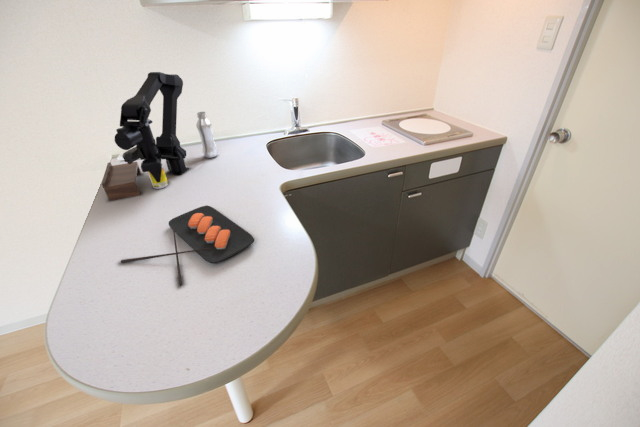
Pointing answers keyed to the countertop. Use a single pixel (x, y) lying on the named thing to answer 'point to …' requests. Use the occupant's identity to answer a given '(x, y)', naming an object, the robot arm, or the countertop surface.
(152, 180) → the supplement bottle
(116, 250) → the countertop surface
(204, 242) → the sushi plate
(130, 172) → the shelf
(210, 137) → the plastic bottle
